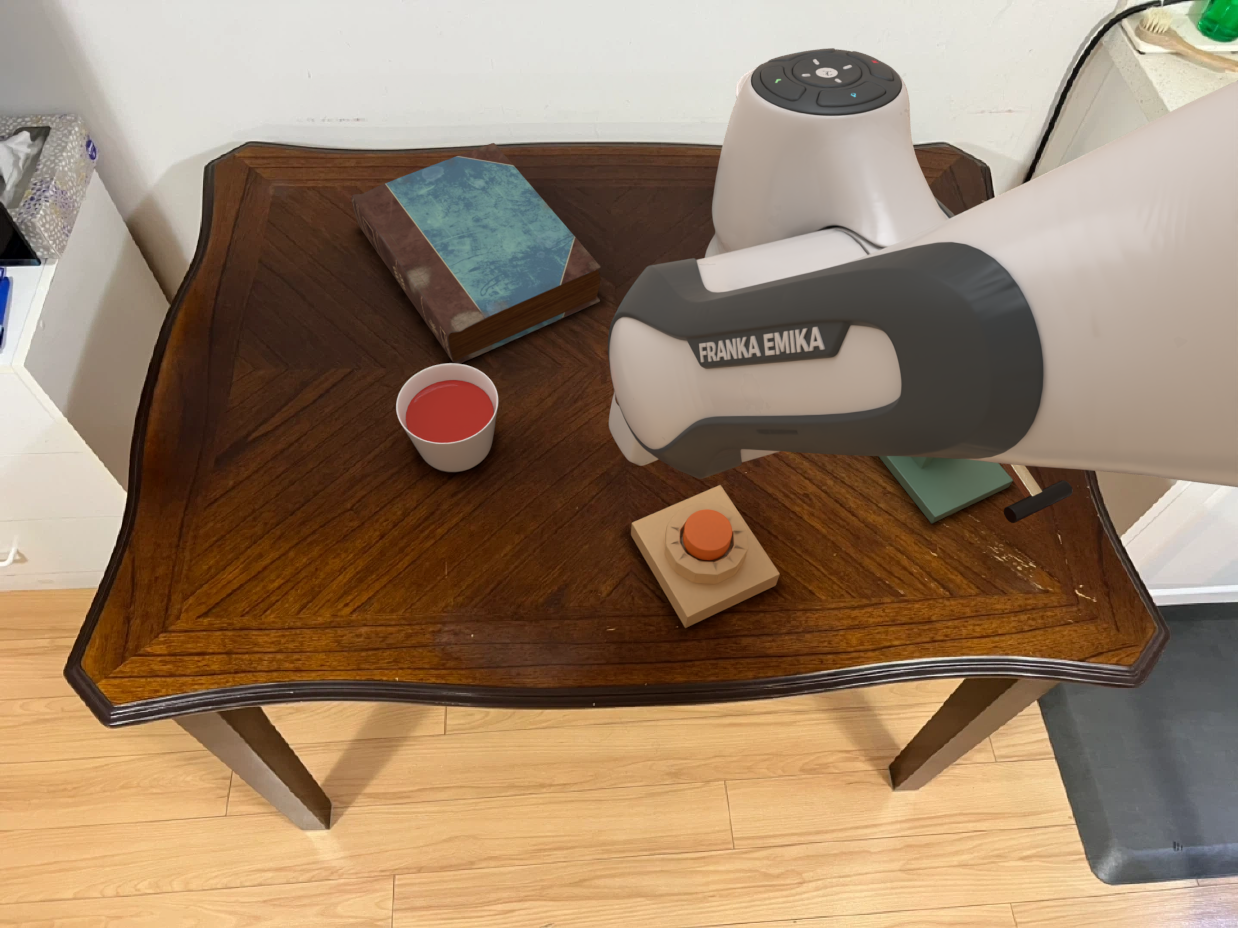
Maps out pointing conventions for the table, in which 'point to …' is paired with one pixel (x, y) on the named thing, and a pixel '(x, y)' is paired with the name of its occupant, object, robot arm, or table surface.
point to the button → (707, 534)
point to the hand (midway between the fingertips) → (740, 439)
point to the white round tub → (449, 415)
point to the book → (477, 251)
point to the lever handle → (1032, 494)
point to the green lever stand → (946, 482)
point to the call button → (703, 582)
